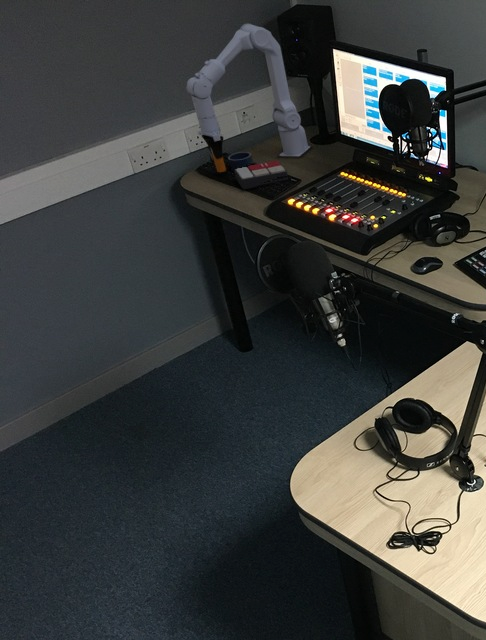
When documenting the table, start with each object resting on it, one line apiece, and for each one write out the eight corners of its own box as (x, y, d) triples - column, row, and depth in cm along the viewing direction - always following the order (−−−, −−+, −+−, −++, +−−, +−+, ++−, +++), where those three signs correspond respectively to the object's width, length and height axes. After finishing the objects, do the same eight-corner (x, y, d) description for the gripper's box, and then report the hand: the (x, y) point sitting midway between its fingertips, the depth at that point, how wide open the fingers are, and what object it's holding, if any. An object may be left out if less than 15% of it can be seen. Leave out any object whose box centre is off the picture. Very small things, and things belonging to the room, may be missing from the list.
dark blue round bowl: (237, 162, 294) (235, 151, 292) (258, 163, 292) (255, 152, 290) (226, 171, 288) (223, 160, 286) (247, 171, 286) (244, 160, 284)
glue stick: (219, 168, 285) (213, 144, 280) (227, 168, 284) (221, 144, 279) (215, 172, 283) (208, 147, 278) (223, 172, 282) (216, 147, 277)
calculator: (286, 169, 276) (240, 177, 270) (289, 181, 278) (243, 190, 272) (278, 159, 284) (233, 167, 278) (280, 171, 286) (235, 179, 280)
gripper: (188, 113, 276) (200, 153, 284) (199, 124, 266) (211, 165, 274) (209, 108, 279) (220, 148, 287) (221, 119, 269) (232, 160, 277)
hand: (217, 156), depth 281 cm, fingers closed on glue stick, 3 cm apart
